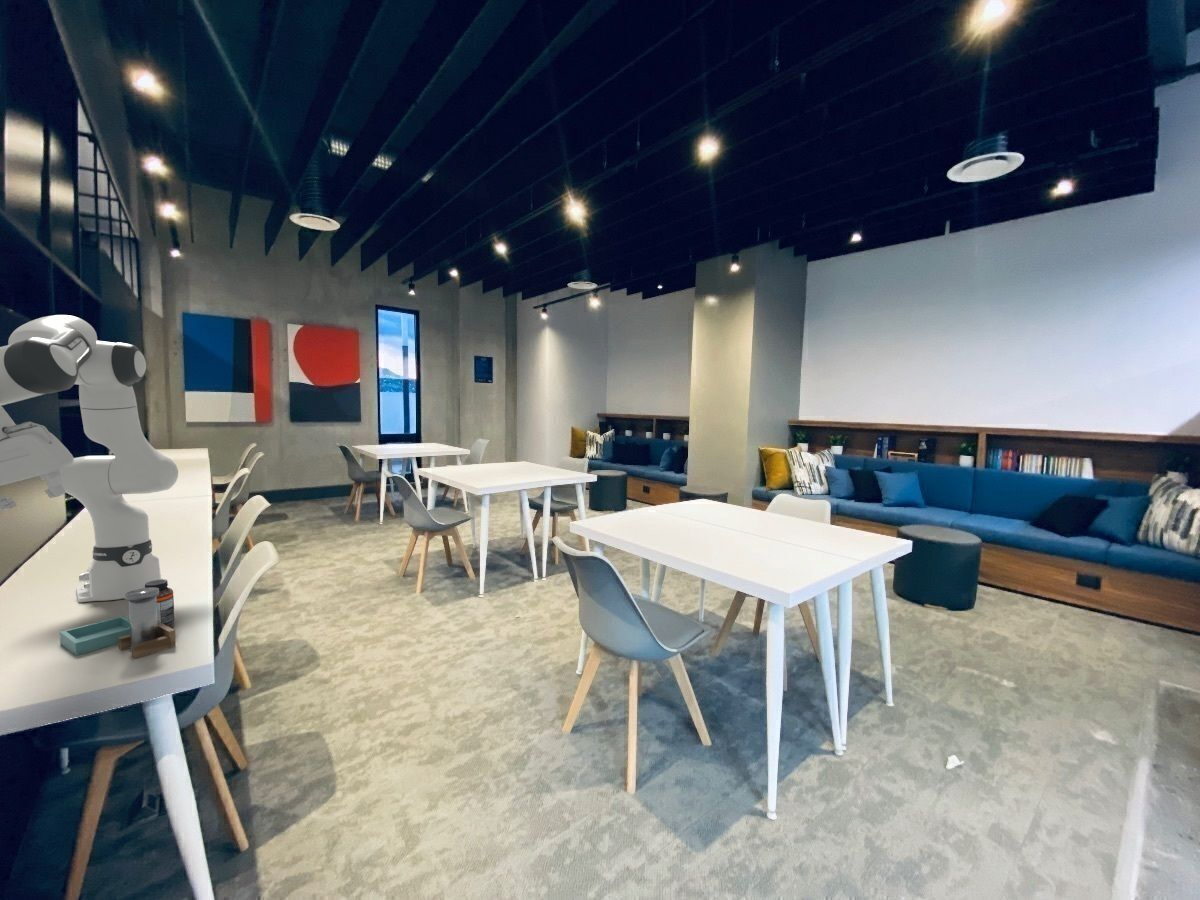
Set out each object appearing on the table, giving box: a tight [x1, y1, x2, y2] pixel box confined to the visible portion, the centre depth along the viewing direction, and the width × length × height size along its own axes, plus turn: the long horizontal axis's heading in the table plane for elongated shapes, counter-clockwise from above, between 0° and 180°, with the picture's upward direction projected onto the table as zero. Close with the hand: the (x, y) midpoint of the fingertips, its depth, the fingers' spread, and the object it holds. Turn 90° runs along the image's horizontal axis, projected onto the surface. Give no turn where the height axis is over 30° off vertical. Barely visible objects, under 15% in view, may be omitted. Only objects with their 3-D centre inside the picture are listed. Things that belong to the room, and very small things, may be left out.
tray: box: [59, 615, 130, 656], centre depth 112 cm, size 11×11×3 cm
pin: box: [124, 587, 159, 653], centre depth 108 cm, size 5×5×12 cm
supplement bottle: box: [145, 579, 175, 628], centre depth 118 cm, size 6×6×11 cm
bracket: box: [118, 621, 176, 660], centre depth 108 cm, size 9×7×4 cm
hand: (34, 502), depth 91 cm, fingers open, 8 cm apart
